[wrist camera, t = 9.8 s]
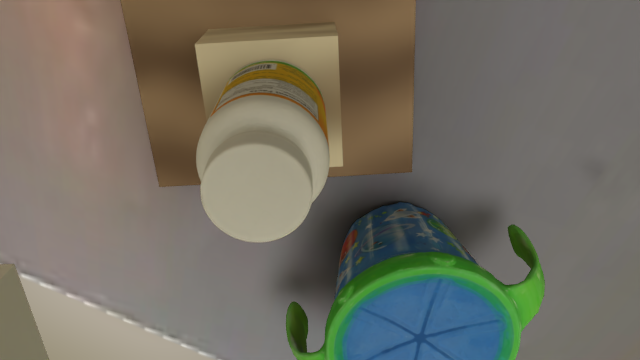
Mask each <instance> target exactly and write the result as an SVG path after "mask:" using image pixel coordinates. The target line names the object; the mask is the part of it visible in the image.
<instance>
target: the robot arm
mask: <svg viewBox="0 0 640 360" xmlns="http://www.w3.org/2000/svg"><path fill="white" fill-rule="evenodd" d="M0 360H49V358H48V355H47V352H46V350H45V347H44V344H43V341H42V339H41V336H40V333H39V330H38V328H37V325H36V322H35V320H34V317H33V314H32V311H31V309H30V306H29V303H28V301H27V298H26V295H25V292H24V289H23V287H22V284H21V281H20V278H19V276H18V273H17V270H16V268H15V265H14V264H0Z"/></svg>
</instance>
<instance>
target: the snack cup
mask: <svg viewBox="0 0 640 360" xmlns="http://www.w3.org/2000/svg"><path fill="white" fill-rule="evenodd" d="M508 233H509V237H510V241H511V244H512V247H513V249H514V251H515V253H516V254H517V256H519V257H521V258H522V259H523V260H524V261H525V262H526V263H527V265H528V266H529V267H530V268H531V270H530V272H529V274H528V275H527V277H526V278H525V280H524V281H522V282H520V283H519V284H514V285H504V284H503V283H502V282H500V281H499V280H497V279H496V278H495V277H494V276H493V275H492V274H491V273H489V272H488V271H486V270H485V269H484V268H482V267H480V266H479V265H478V264H477V263H476V261H475V260H474V259H473V258H472V256H471V255H470V254H469V253H468V251H467V250H466V249H465V248H464V247H463V246H462V245H461V243H460V242H459V241H458V240H457V239H456V237H455V236H454V235H453V234H452V232H451V231H450V230H449V229H448V228H447V227H446V225H445V224H444V223H443V222H442V221H441V220H440V219H438V218H437V217H436V216H435V215H434V214H432V213H430V212H429V211H427V210H425V209H422V208H419V207H416V206H413V205H412V204H410V203H402V202H399V203H397V204H393V205H389V206H382V207H380V208H377V209H375V210H373V211H371V212H369V213H368V214H366V215H365V216H363V217H362V218H359V219H357V220H356V222H355V223H353V225H352V226H351V228H350V230H349V232H348V234H347V236H346V238H345V240H344V243H343V247H342V251H341V256H340V262H339V272H338V278H337V283H336V291H335V301H334V303H333V305H332V307H331V310H330V313H329V315H328V318H327V323H326V328H325V342H324V345H323V346H322V348H321V349H320V350H319V351H317V352H313V353H307V345H306V339H307V334H308V319H307V316H306V314H305V312H304V310H303V309H302V308H301V306H300V305H299V304H298V303H296V302H292V303H291V304H290V305H289V307H288V310H287V315H286V331H287V337H288V342H289V345H290V347H291V349H292V352H293V354H294V355H295V357H296V358H297V360H515V358H516V355H517V353H518V350H519V345H520V338H521V332H522V330H523V329H524V328H525V326H526V325H527V324H528V323H529V322H530V321H531V320H532V318H533V317H534V316H535V314H537V313H538V311H539V307H540V305H541V302H542V299H543V297H544V290H545V280H544V276H543V272H542V269H541V266H540V263H539V259H538V256H537V253H536V251H535V249H534V247H533V245H532V243H531V241H530V240H529V238H528V237H527V235H526V234H525V233H524V232H523V231H522V230H521V229H520V228H519V227H517V226H515V225H510V226H509V227H508Z"/></svg>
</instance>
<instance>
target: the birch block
mask: <svg viewBox="0 0 640 360" xmlns="http://www.w3.org/2000/svg"><path fill="white" fill-rule="evenodd" d="M195 50H196V56H197V63H198V69H199V75H200V82H201V88H202V95H203V101H204V107H205V114H206V120H207V121H208V119H209V117H210V115H211V113H212V111H213V109H214V107H215V105H216V103H217V101H218V99H219V96H220V94H221V92H222V91H223V89H224V87H225V85H226V84H227V82H228V81H229V79H230V78H231V77H232V76H233V75H234V74H235V73H236V72H237V71H238V70H240V69H241V68H243V67H244V66H246V65H248V64H250V63H253V62H256V61H260V60H281V61H286V62H289V63H292V64H294V65H296V66H298V67H299V68H301V69H302V70H304V71H305V72H306V73H307V74H308V75H309V76H310V77H311V78H312V79H313V80H314V81H315V82H316V84H317V85H318V87H319V89H320V91H321V93H322V96H323V99H324V104H325V110H326V121H327V131H328V142H329V153H330V163H329V167H342V166H343V151H342V126H341V101H340V76H339V51H338V34H337V30H336V26H335V22H323V23H306V24H290V25H273V26H256V27H239V28H223V29H208V30H207V32H206V33H205V34H204V35H203V36H202V37H201V38H200V39H199V40H198V41H197V42H196V43H195Z"/></svg>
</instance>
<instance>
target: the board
mask: <svg viewBox="0 0 640 360" xmlns="http://www.w3.org/2000/svg"><path fill="white" fill-rule="evenodd" d="M121 5H122V10H123V15H124V19H125V24H126V29H127V34H128V38H129V43H130V48H131V53H132V58H133V62H134V67H135V72H136V77H137V81H138V86H139V91H140V96H141V101H142V105H143V110H144V115H145V120H146V124H147V129H148V134H149V139H150V144H151V148H152V153H153V158H154V163H155V167H156V172H157V177H158V182H159V187H166V186H183V185H200V184H201V181H200V178H199V175H198V171H197V165H196V151H197V145H198V142H199V138H200V136H201V133H202V131H203V129H204V126H205V124H206V123H207V120H206V114H205V107H204V101H203V95H202V88H201V82H200V75H199V69H198V63H197V56H196V50H195V43H196V42H197V41H198V40H199V39H200V38H201V37H202V36H203V35H204V34H205V33H206V32H207V30H208V29H223V28H239V27H256V26H273V25H290V24H306V23H323V22H335V26H336V30H337V34H338V51H339V76H340V101H341V126H342V151H343V166H342V167H329V172H328V177H337V176H354V175H371V174H388V173H405V172H412V148H413V101H414V54H415V7H416V0H121Z"/></svg>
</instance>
